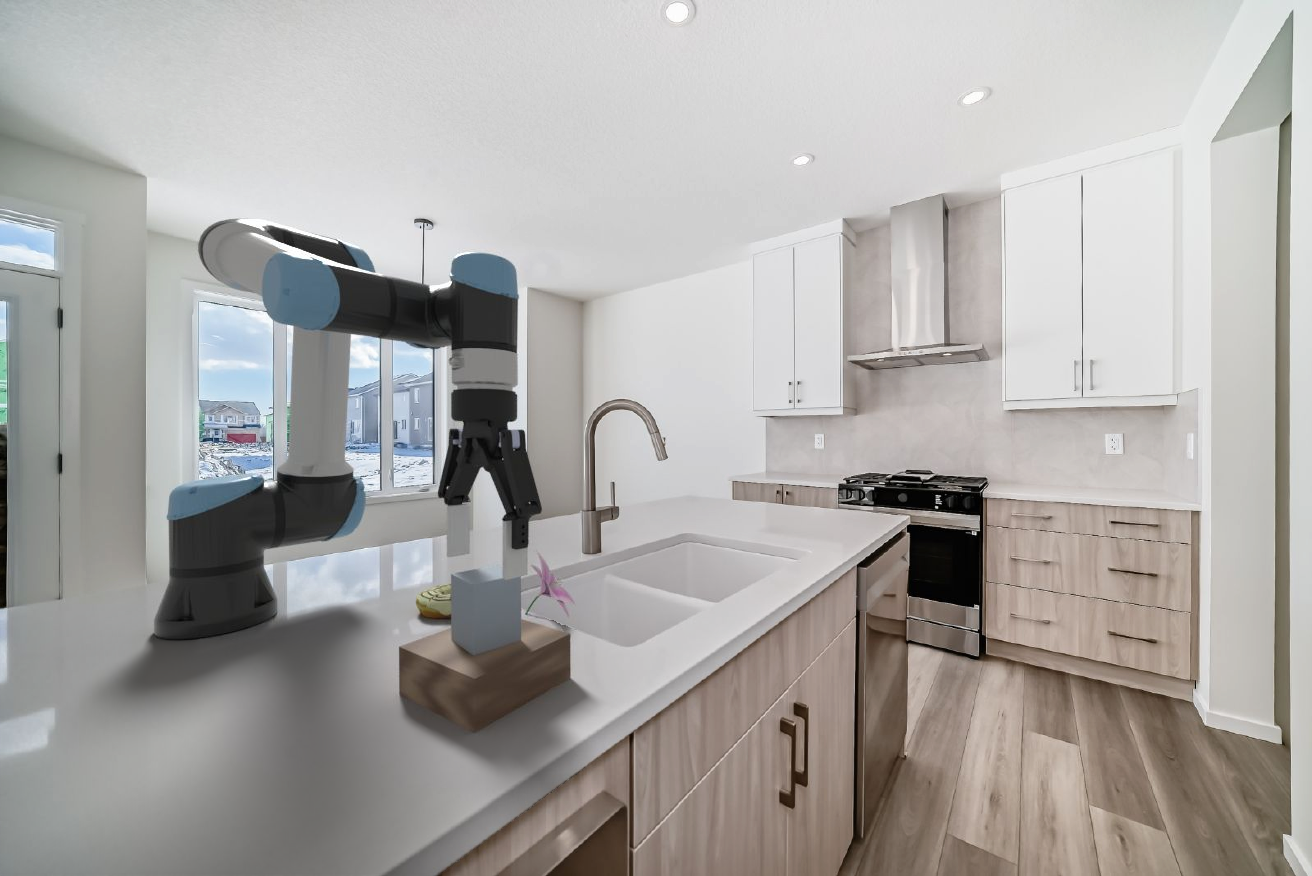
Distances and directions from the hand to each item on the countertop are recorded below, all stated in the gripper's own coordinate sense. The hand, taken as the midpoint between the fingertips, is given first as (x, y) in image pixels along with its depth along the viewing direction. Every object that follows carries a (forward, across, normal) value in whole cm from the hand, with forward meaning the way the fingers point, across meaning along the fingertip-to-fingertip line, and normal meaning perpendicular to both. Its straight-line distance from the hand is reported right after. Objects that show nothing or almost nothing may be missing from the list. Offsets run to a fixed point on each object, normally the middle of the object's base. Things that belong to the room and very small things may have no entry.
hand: (484, 565), depth 62 cm
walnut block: (+15, 0, 0) cm, 15 cm away
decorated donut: (+15, -28, +9) cm, 34 cm away
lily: (+15, -14, +20) cm, 29 cm away
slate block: (+9, 0, 0) cm, 9 cm away
